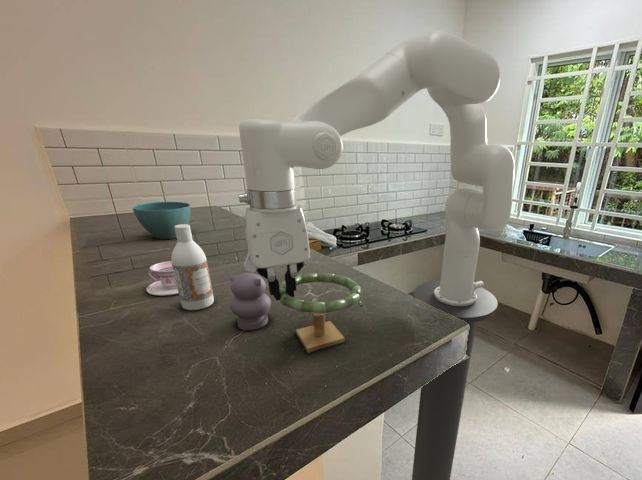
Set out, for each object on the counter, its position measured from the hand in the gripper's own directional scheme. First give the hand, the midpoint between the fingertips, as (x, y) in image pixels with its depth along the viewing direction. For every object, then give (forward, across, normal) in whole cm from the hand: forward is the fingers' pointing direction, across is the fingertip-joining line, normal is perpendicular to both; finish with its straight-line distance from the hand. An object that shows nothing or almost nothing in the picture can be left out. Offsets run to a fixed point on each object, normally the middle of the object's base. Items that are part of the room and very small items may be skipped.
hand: (283, 295), depth 62 cm
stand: (+12, +6, 0) cm, 13 cm away
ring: (+1, +7, 0) cm, 7 cm away
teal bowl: (+12, -20, +96) cm, 99 cm away
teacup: (+12, -19, +42) cm, 48 cm away
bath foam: (+12, -14, +28) cm, 33 cm away
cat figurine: (+12, -4, +13) cm, 18 cm away
